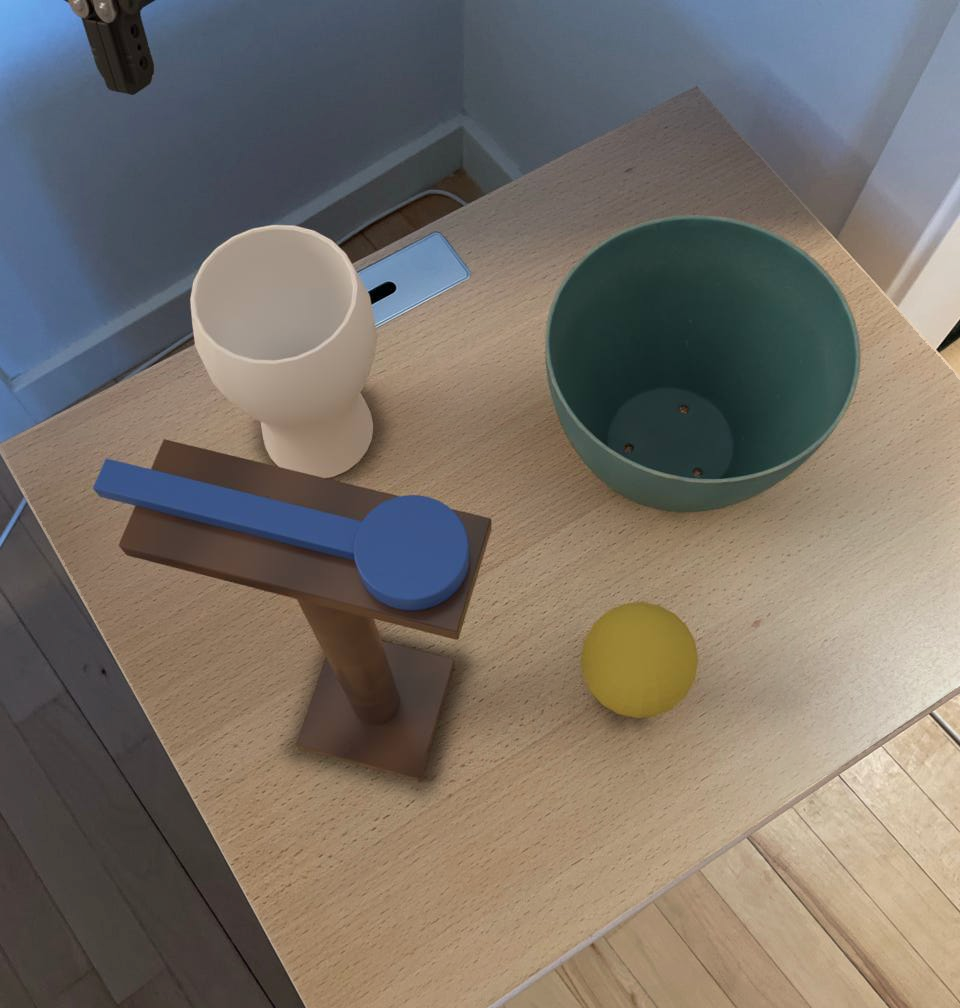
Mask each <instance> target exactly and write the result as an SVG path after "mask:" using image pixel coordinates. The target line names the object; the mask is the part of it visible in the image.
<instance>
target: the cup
mask: <svg viewBox="0 0 960 1008" xmlns="http://www.w3.org/2000/svg"><path fill="white" fill-rule="evenodd" d="M194 277H195V278H194V279H193V282H192V288H191V293H190V299H189V301H190V303H189V304H190V313H191V324H192V334H193V340H194V346H195V349H196V351H197V353H198V355H199V358H200V359H201V362H202V364H203V366H204V368H205V370H206V372H207V374H208V376H209V378H210V381H211V383H212V384H213V386H214V387H215V388H216V389H217V390H218V391H219V392H220V393H221V394H222V395H223V396H224V398H226V399H227V400H228V401H229V402H230V403H232V404H233V405H234V406H235V407H237V408H238V409H239V410H240V411H241V412H243V413H244V414H246V415H248V416H250V417H251V418H252V419H254V420H256V421H258V422H260V427H261V434H262V439H263V444H264V448H265V450H266V452H267V454H268V456H269V458H270V459H271V460H272V461H273V463H274V464H275V465H277V467H281V468H285V469H289V470H293V471H298V472H302V473H306V474H310V475H314V476H318V477H322V478H326V479H330V478H334V477H336V476H339V475H342V473H345V472H347V471H349V470H350V469H352V468H353V467H354V466H355V465H356V464H358V463H359V462H360V461H361V459H362V458H363V457H364V456H365V454H366V453H367V452H368V450H369V447H370V445H371V442H372V440H373V435H374V421H373V417H372V412H371V410H370V409H369V408H370V407H368V404H367V402H366V400H365V398H364V396H363V394H362V393H361V392H362V391H363V389H364V387H365V385H366V382H367V380H368V378H369V376H370V374H371V373H370V372H371V370H372V366H373V362H374V359H375V355H376V348H377V347H376V346H377V340H378V339H377V338H378V332H377V326H376V320H375V316H374V315H375V314H374V309H373V306H372V305H373V304H372V300H371V295H370V293H369V291H368V289H367V288H366V286H365V284H364V282H363V281H362V278H361V277H360V275H359V274H358V271H357V270H356V268H355V267H354V265H353V263H352V261H351V260H350V258H349V255H347V252H345V251H344V250H343V249H342V248H341V247H340V246H339V245H337V243H335V242H334V241H333V240H332V239H330V238H329V237H327V236H325V235H323V234H321V233H319V232H318V231H316V230H313V229H309V228H305V227H301V226H298V225H292V224H291V225H290V224H289V225H287V224H286V225H285V224H271V225H265V226H260V227H254V228H250V229H248V230H245V231H243V232H240V233H238V234H236V235H233V236H231V237H230V238H229V239H227V240H226V241H224V242H223V243H221V244H219V246H217V247H216V248H215V249H214V250H213V251H212V252H211V253H210V255H208V257H206V259H205V260H204V261H203V262H202V264H201V265H200V267H199V270H198V271H197V273H196V275H195V276H194Z"/></svg>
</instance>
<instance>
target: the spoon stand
mask: <svg viewBox="0 0 960 1008" xmlns="http://www.w3.org/2000/svg"><path fill="white" fill-rule="evenodd" d="M150 469H151V470H155V471H159V472H164V473H168V474H172V475H176V476H180V477H184V478H188V479H192V480H196V481H200V482H204V483H208V484H212V485H216V486H220V487H224V488H229V489H233V490H237V491H241V492H245V493H249V494H253V495H257V496H261V497H265V498H269V499H273V500H277V501H281V502H285V503H289V504H294V505H298V506H302V507H306V508H310V509H314V510H318V511H322V512H326V513H330V514H334V515H338V516H342V517H346V518H350V519H354V520H359V521H363V520H364V519H365V517H366V516H367V515H368V514H369V513H370V512H371V511H372V510H373V509H374V508H376V507H377V506H378V505H380V504H382V503H383V502H385V501H387V500H390V499H392V498H396V497H400V496H401V495H397V494H392V493H387V492H384V491H380V490H375V489H371V488H367V487H363V486H359V485H355V484H351V483H347V482H343V481H340V480H339V481H338V480H335V479H331V478H322V477H318V476H314V475H310V474H306V473H302V472H298V471H293V470H289V469H285V468H281V467H278V465H277V466H276V465H273V464H268V463H264V462H260V461H256V460H251V459H247V458H244V457H238V456H236V455H232V454H228V453H223V452H219V451H214V450H211V449H207V448H202V447H198V446H194V445H190V444H186V443H181V442H178V441H174V440H169V439H164V438H163V439H162V442H161V445H160V446H159V449H158V452H157V454H156V456H155V458H154V461H153V463H152V465H151V468H150ZM451 509H452V510H453V511H454V512H455V513H456V514H457V515H458V517H459V518H460V519H461V521H462V523H463V525H464V527H465V529H466V532H467V536H468V541H469V557H470V558H469V567H468V571H467V574H466V576H465V579H464V581H463V582H462V584H461V586H460V587H459V588H458V590H457V591H456V592H455V593H454V594H453V595H452V596H450V597H449V598H448V599H447V600H445V601H443V602H442V603H440V604H438V605H436V606H434V607H430V608H427V609H422V610H401V609H396V608H393V607H390V606H388V605H386V604H384V603H382V602H381V601H379V600H377V599H376V598H375V597H374V596H373V595H372V594H371V593H370V592H369V591H368V590H367V588H366V587H365V585H364V584H363V582H362V580H361V578H360V575H359V572H358V569H357V566H356V563H355V561H354V560H350V559H346V558H342V557H338V556H334V555H330V554H326V553H322V552H318V551H314V550H310V549H306V548H302V547H298V546H294V545H290V544H286V543H282V542H278V541H274V540H270V539H266V538H262V537H258V536H254V535H250V534H246V533H242V532H238V531H234V530H230V529H226V528H222V527H218V526H214V525H210V524H206V523H202V522H198V521H194V520H190V519H186V518H182V517H178V516H174V515H170V514H166V513H162V512H158V511H154V510H150V509H146V508H142V507H138V506H134V508H133V510H132V511H131V515H130V518H129V519H128V521H127V524H126V526H125V528H124V531H123V533H122V536H121V538H120V540H119V543H118V547H119V548H120V549H121V550H122V552H123V553H124V554H125V555H126V556H127V557H130V558H135V559H139V560H143V561H147V562H151V563H155V564H159V565H163V566H167V567H171V568H175V569H178V570H181V571H186V572H190V573H194V574H197V575H201V576H206V577H208V578H213V579H217V580H221V581H224V582H229V583H233V584H237V585H241V586H244V587H248V588H252V589H256V590H259V591H264V592H268V593H272V594H275V595H280V596H284V597H288V598H291V599H295V600H296V601H297V603H298V605H299V607H300V609H301V611H302V613H303V615H304V617H305V619H306V620H307V622H308V624H309V626H310V628H311V630H312V632H313V634H314V636H315V638H316V640H317V642H318V644H319V646H320V648H321V650H322V652H323V653H324V656H325V659H324V661H323V665H322V667H321V670H320V674H319V676H318V679H317V683H316V685H315V688H314V691H313V693H312V697H311V699H310V703H309V705H308V709H307V711H306V715H305V718H304V721H303V724H302V726H301V729H300V732H299V735H298V738H297V741H296V744H295V745H296V747H297V748H298V750H302V751H304V752H305V751H306V752H309V753H312V754H316V755H320V756H324V757H326V758H331V759H333V760H334V759H335V760H338V761H342V762H345V763H349V764H353V765H356V766H360V767H364V768H368V769H372V770H374V771H379V772H382V773H385V774H390V775H393V776H397V777H399V778H400V777H401V778H405V779H408V780H411V781H415V782H422V781H421V780H422V777H423V774H424V770H425V767H426V764H427V761H428V757H429V754H430V750H431V748H432V743H433V740H434V737H435V733H436V730H437V726H438V723H439V720H440V717H441V713H442V710H443V707H444V703H445V700H446V698H447V697H446V696H447V693H448V691H449V687H450V684H451V679H452V677H453V674H454V669H455V666H456V661H455V658H453V657H448V656H444V655H440V654H436V653H432V652H428V651H424V650H420V649H417V648H414V647H413V648H412V647H409V646H406V645H401V644H397V643H393V642H389V641H386V640H382V639H381V636H380V633H379V630H378V627H377V624H376V620H378V621H381V622H385V623H389V624H393V625H395V626H401V627H405V628H408V629H412V630H415V631H420V632H423V633H428V634H432V635H435V636H438V637H439V636H440V637H444V638H447V639H451V640H455V641H458V640H459V639H460V636H461V632H462V629H463V626H464V624H465V619H466V617H467V616H466V615H467V613H468V609H469V606H470V603H471V599H472V596H473V593H474V589H475V586H476V584H477V583H476V582H477V579H478V576H479V573H480V569H481V566H482V563H483V559H484V556H485V552H486V549H487V547H488V546H487V545H488V542H489V539H490V536H491V533H492V518H490V517H488V516H483V515H478V514H475V513H471V512H466V511H462V510H458V509H454V508H451Z"/></svg>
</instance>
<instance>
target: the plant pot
mask: <svg viewBox="0 0 960 1008" xmlns="http://www.w3.org/2000/svg"><path fill="white" fill-rule="evenodd" d="M849 305H850V304H849V303H848V301H847V298H846V297H845V295H844V293H843V292H842V289H840V286H838V283H836V281H835V280H834V278H833V277H832V276H831V275H830V273H828V272H827V270H826V269H825V268H824V267H823V266H822V265H821V264H820V263H819V262H818V261H817V260H816V259H815V258H814V257H812V256H811V255H810V254H809V253H808V252H806V251H805V250H804V249H802V248H801V247H799V246H798V245H797V244H795V243H794V242H792V241H791V240H789V239H787V238H785V237H783V236H781V235H779V234H777V233H775V231H774V232H773V231H771V230H769V229H768V228H765V227H762V226H759V225H758V224H753V223H750V222H748V221H744V220H740V219H736V218H731V217H724V216H717V215H708V214H705V215H704V214H683V215H681V214H680V215H671V216H665V217H660V218H654V219H650V220H647V221H643V222H640V223H637V224H634V225H631V226H629V227H625V228H624V229H621V230H620V231H617V232H615V233H613V234H611V235H610V236H609V237H607V238H604V239H603V240H602V241H600V242H599V243H598V244H596V245H595V246H594V247H593V248H592V247H591V249H590V250H589V251H588V252H586V253H585V254H584V255H583V256H582V257H581V258H580V259H579V260H578V261H577V262H576V263H575V264H574V265H573V267H572V268H571V269H570V270H569V271H568V273H567V274H566V276H565V277H564V279H563V280H562V281H561V283H560V285H559V287H558V289H556V293H555V294H554V297H553V299H552V302H551V304H550V308H549V310H548V315H547V320H546V325H545V326H546V327H545V336H544V346H545V347H544V357H545V359H544V360H545V368H546V376H547V383H548V386H549V391H550V396H551V399H552V403H553V406H554V409H555V412H556V415H557V418H558V421H559V422H560V425H561V428H562V430H563V432H564V435H566V437H567V439H568V441H569V443H570V445H571V446H572V448H573V450H574V451H575V452H576V454H577V455H578V456H579V459H580V460H582V462H583V464H584V465H585V466H586V467H587V468H588V469H589V470H590V471H591V473H592V474H594V475H595V476H596V477H597V478H598V479H599V480H600V481H601V482H602V483H603V484H604V485H606V486H607V487H609V488H610V489H612V490H613V491H614V492H615V493H617V494H619V495H620V496H621V497H624V498H626V499H628V501H629V500H630V501H631V502H634V503H636V504H638V505H641V506H644V507H647V508H651V509H654V510H658V511H664V512H669V513H670V512H671V513H681V514H682V513H686V514H687V513H689V514H691V513H703V512H710V511H716V510H720V509H724V508H728V507H731V506H734V505H737V504H741V503H742V502H744V501H745V502H746V501H748V500H750V499H752V498H755V497H756V496H758V495H760V494H763V493H764V492H766V491H768V490H769V489H771V488H773V487H774V486H776V485H778V484H779V483H781V482H782V481H784V480H785V479H787V478H788V477H789V476H790V475H792V474H793V473H795V472H796V471H797V470H798V469H799V468H800V467H801V466H803V465H804V464H805V463H806V462H807V461H808V460H809V459H810V458H811V457H812V456H813V455H815V453H816V452H817V451H818V450H819V449H820V448H821V447H822V446H823V445H824V444H825V442H826V441H827V440H828V439H829V437H830V436H831V435H832V434H833V432H834V431H835V430H836V429H837V427H838V425H839V424H840V422H841V421H842V419H843V417H844V416H845V415H846V413H847V411H848V409H849V407H850V405H851V403H852V401H853V398H854V395H855V392H856V389H857V385H858V383H859V378H860V372H861V371H860V370H861V361H862V358H861V357H862V355H861V342H860V335H859V332H858V326H857V323H856V320H855V317H854V314H853V311H852V309H851V307H850V306H849ZM681 408H686V409H687V411H686V412H685V413H684V412H682V411H681V410H680V409H681ZM626 446H630V447H632V450H631V451H629V452H628V451H626V450H625V448H626ZM695 471H699V472H700V473H701V475H700V476H696V475H695V474H694V472H695Z"/></svg>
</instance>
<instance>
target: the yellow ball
mask: <svg viewBox="0 0 960 1008" xmlns="http://www.w3.org/2000/svg"><path fill="white" fill-rule="evenodd" d="M580 664H581V671H582V678H583V680H584V682H585V683H586V686H587V688H588V690H589V692H590V694H592V696H594V698H595V699H596V700H597V701H598V702H599V703H600V704H601V705H602V706H603V707H605V708H607V709H609V710H611V711H613V712H614V713H616V714H618V715H620V716H625V717H631V718H636V719H643V718H653V717H657V716H659V715H662V714H664V713H666V712H668V711H671V710H672V709H674V708H675V707H676V706H677V705H678V704H679V703H680V702H682V701H683V700H684V699H685V697H687V696H688V694H689V692H690V690H691V688H692V687H693V684H694V682H695V681H696V679H697V672H698V667H699V655H698V649H697V645H696V640H695V637H694V636H693V634H692V633H691V631H690V628H689V627H688V625H687V624H686V623H685V622H684V621H683V620H682V619H681V618H680V617H679V616H678V615H677V614H675V613H674V612H672V611H671V610H669V609H666V608H665V607H663V606H661V605H659V604H654V603H648V602H642V601H639V602H629V603H623V604H621V605H619V606H616V607H613V608H611V609H609V610H607V611H606V612H605V613H604V614H603V615H601V616H600V617H599V618H598V619H597V620H596V621H595V622H593V624H592V626H591V627H590V629H589V631H588V632H587V634H586V635H585V637H584V640H583V644H582V648H581V654H580Z"/></svg>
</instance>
